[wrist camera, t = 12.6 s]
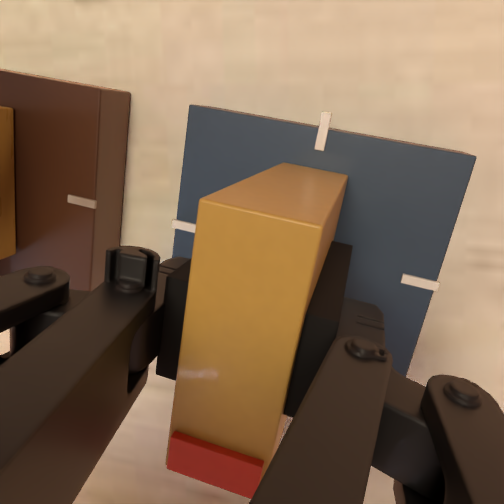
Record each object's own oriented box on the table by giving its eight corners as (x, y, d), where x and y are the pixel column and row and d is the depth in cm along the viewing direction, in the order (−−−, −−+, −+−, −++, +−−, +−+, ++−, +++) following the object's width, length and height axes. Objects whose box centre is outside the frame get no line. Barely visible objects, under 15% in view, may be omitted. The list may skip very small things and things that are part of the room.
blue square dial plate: (182, 313, 23) (159, 336, 21) (210, 92, 20) (186, 87, 17) (396, 374, 21) (399, 407, 19) (471, 137, 18) (487, 139, 15)
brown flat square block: (-50, 248, 26) (-94, 261, 24) (-62, 45, 23) (-115, 35, 20) (118, 295, 24) (88, 315, 22) (133, 79, 21) (101, 73, 18)
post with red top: (283, 161, 17) (193, 199, 9) (348, 174, 17) (322, 228, 8) (253, 319, 20) (159, 473, 11) (311, 335, 19) (259, 509, 10)
